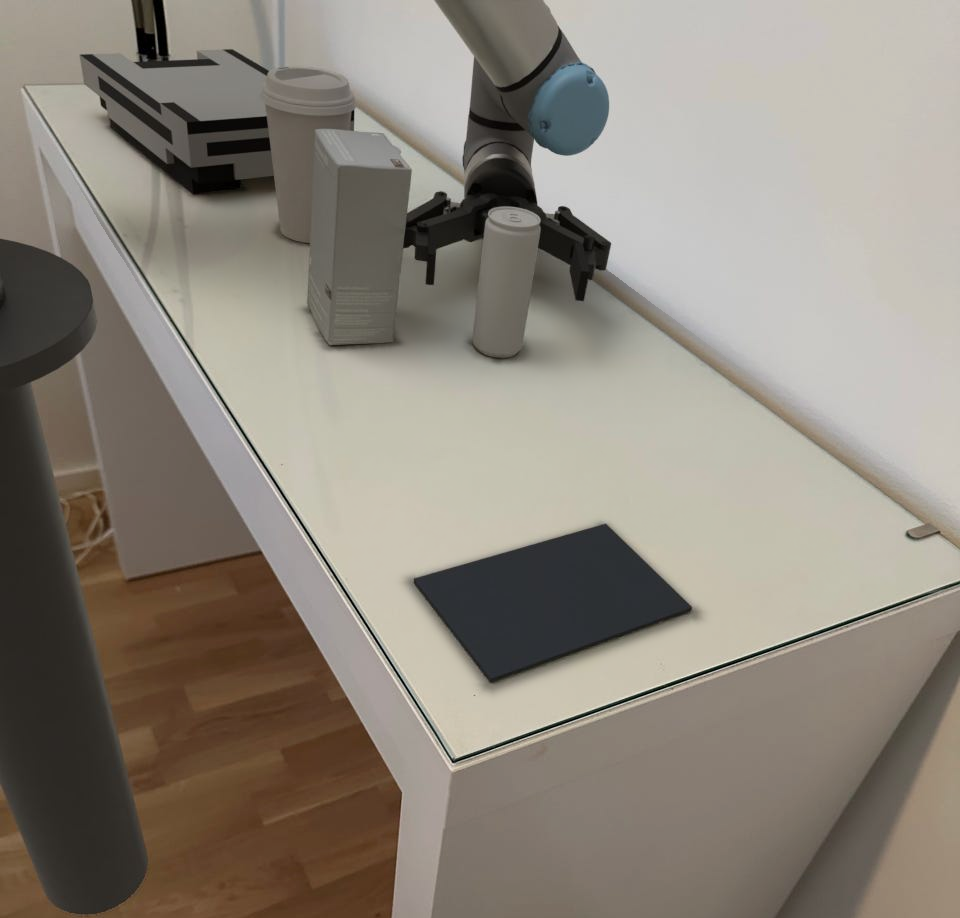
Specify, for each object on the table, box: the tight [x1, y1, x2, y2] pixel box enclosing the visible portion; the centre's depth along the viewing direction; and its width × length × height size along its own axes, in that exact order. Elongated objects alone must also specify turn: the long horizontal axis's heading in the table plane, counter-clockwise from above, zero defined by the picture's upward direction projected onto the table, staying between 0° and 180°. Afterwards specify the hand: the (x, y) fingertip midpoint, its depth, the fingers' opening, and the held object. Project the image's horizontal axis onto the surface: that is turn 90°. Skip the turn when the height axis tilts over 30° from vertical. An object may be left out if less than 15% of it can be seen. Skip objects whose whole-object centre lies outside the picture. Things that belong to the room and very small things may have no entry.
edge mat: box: [413, 523, 693, 684], centre depth 61 cm, size 10×16×1 cm, turn 121°
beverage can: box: [471, 207, 541, 359], centre depth 82 cm, size 5×5×12 cm
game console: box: [79, 48, 355, 195], centre depth 114 cm, size 21×32×8 cm, turn 37°
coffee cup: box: [260, 65, 357, 244], centre depth 96 cm, size 10×10×15 cm
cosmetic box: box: [306, 129, 413, 346], centre depth 81 cm, size 8×7×16 cm
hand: (507, 278), depth 81 cm, fingers open, 13 cm apart
